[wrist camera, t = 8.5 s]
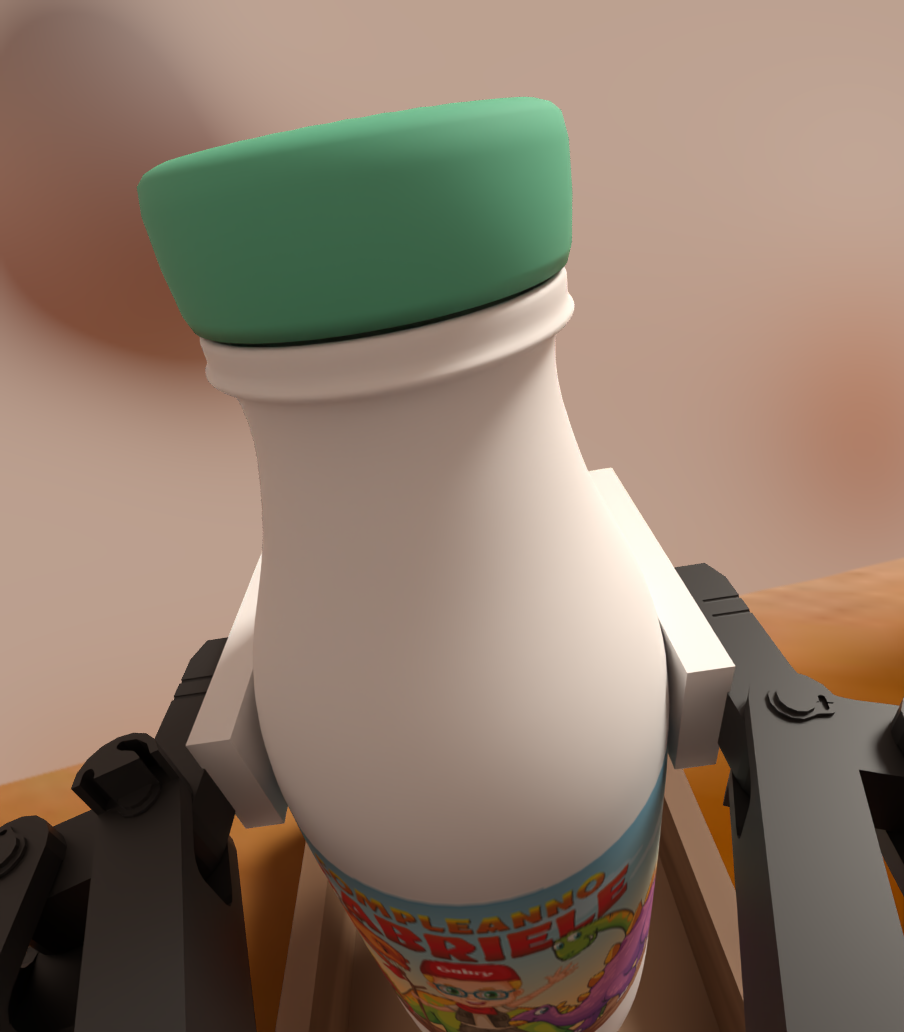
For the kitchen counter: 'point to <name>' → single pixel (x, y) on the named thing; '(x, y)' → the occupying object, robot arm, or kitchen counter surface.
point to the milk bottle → (434, 552)
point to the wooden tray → (667, 966)
